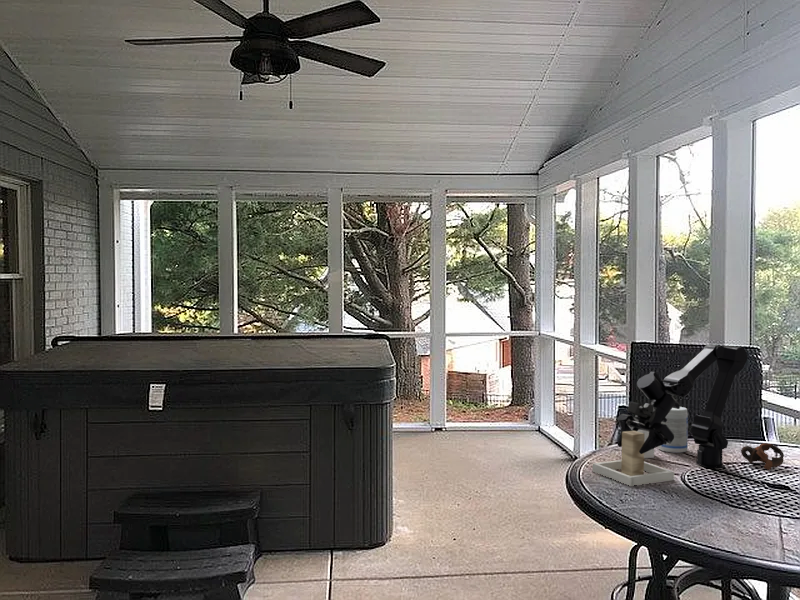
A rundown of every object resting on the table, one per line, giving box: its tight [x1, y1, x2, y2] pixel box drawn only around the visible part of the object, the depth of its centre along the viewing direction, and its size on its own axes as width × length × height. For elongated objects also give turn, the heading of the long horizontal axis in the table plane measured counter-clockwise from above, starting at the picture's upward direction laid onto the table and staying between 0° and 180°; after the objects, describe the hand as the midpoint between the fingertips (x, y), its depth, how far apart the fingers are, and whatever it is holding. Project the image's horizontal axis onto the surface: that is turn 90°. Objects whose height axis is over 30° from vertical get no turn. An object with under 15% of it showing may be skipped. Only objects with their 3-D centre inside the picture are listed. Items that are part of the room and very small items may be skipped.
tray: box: [592, 459, 675, 487], centre depth 207 cm, size 16×16×2 cm
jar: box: [633, 417, 655, 459], centre depth 231 cm, size 9×8×12 cm
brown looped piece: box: [740, 442, 785, 471], centre depth 218 cm, size 12×10×8 cm
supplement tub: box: [657, 406, 689, 454], centre depth 238 cm, size 10×10×15 cm
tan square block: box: [620, 431, 645, 476], centre depth 206 cm, size 4×4×13 cm
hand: (629, 449), depth 206 cm, fingers open, 9 cm apart
